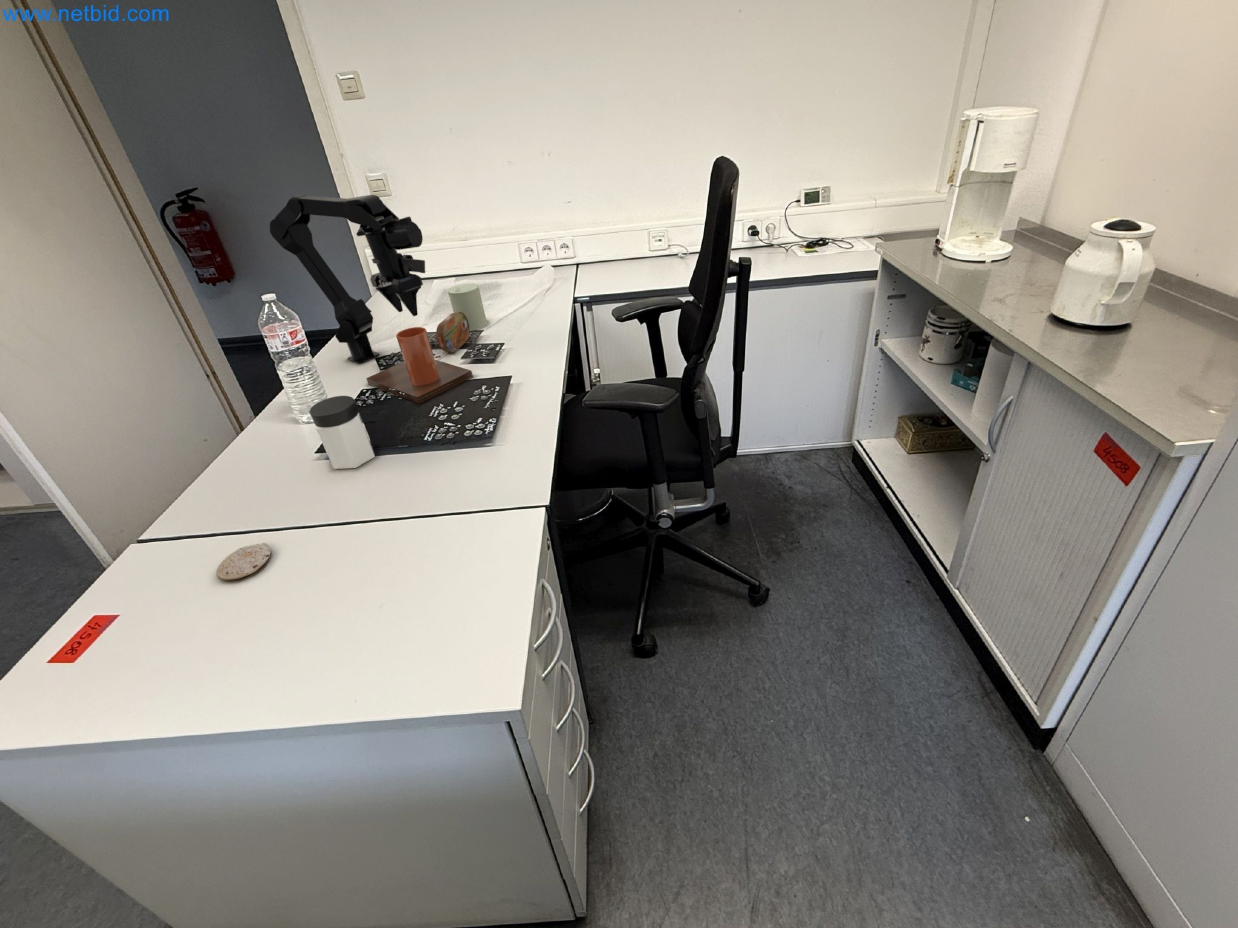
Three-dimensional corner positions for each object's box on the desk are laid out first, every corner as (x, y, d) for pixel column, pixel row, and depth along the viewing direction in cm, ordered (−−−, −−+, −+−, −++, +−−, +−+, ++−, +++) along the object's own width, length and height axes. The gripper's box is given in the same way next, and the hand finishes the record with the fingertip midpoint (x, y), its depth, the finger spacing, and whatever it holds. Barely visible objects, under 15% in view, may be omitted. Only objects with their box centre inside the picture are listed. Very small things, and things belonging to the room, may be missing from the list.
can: (451, 330, 174) (440, 291, 168) (468, 319, 181) (458, 281, 175) (476, 332, 171) (466, 291, 164) (493, 321, 178) (484, 281, 171)
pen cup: (406, 385, 139) (390, 338, 133) (419, 373, 145) (405, 327, 138) (431, 385, 138) (417, 337, 131) (444, 373, 143) (430, 326, 137)
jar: (377, 461, 114) (356, 408, 108) (334, 475, 112) (309, 421, 105) (372, 442, 121) (352, 390, 115) (331, 454, 119) (308, 402, 112)
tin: (450, 357, 157) (442, 327, 152) (440, 357, 157) (431, 327, 153) (473, 335, 169) (465, 307, 164) (463, 336, 169) (455, 307, 165)
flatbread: (248, 583, 88) (245, 578, 87) (206, 580, 89) (203, 575, 89) (283, 547, 94) (280, 542, 94) (243, 545, 96) (240, 540, 95)
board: (368, 384, 147) (366, 378, 146) (420, 361, 157) (419, 354, 156) (419, 404, 134) (417, 397, 133) (473, 377, 144) (471, 370, 143)
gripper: (430, 244, 140) (451, 307, 148) (399, 241, 153) (420, 299, 161) (387, 257, 134) (412, 322, 142) (359, 254, 147) (383, 313, 155)
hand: (408, 313), depth 150 cm, fingers open, 9 cm apart
